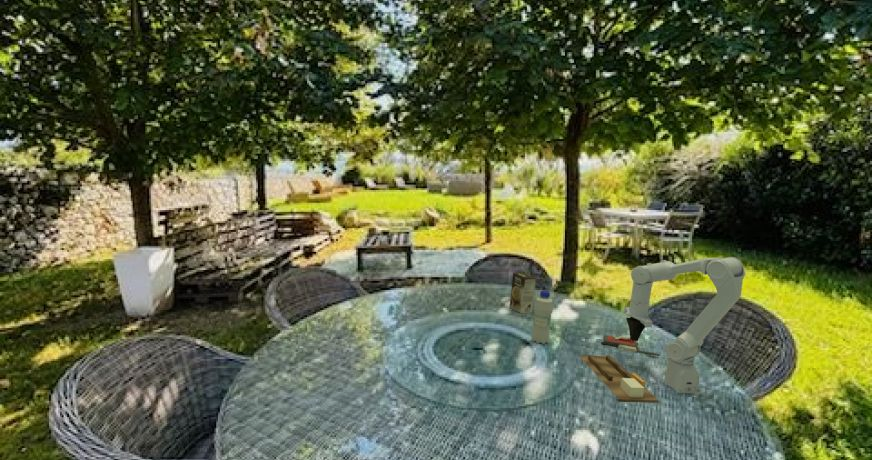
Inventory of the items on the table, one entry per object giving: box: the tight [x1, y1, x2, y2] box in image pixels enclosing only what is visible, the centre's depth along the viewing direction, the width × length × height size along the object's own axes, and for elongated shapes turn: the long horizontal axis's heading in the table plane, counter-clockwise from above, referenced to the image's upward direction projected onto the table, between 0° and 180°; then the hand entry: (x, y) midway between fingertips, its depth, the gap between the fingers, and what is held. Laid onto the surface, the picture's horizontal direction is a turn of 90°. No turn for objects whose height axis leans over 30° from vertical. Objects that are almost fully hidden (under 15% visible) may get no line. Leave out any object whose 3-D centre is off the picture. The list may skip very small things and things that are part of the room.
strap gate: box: [630, 372, 646, 387], centre depth 148 cm, size 1×6×3 cm, turn 11°
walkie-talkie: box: [600, 334, 661, 357], centre depth 180 cm, size 9×4×20 cm
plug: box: [620, 378, 645, 398], centre depth 144 cm, size 6×4×3 cm, turn 6°
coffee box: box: [509, 271, 537, 314], centre depth 215 cm, size 9×6×16 cm
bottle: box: [531, 289, 554, 345], centre depth 178 cm, size 7×7×20 cm
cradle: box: [578, 354, 659, 404], centre depth 155 cm, size 30×12×2 cm, turn 6°
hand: (634, 340), depth 164 cm, fingers closed
